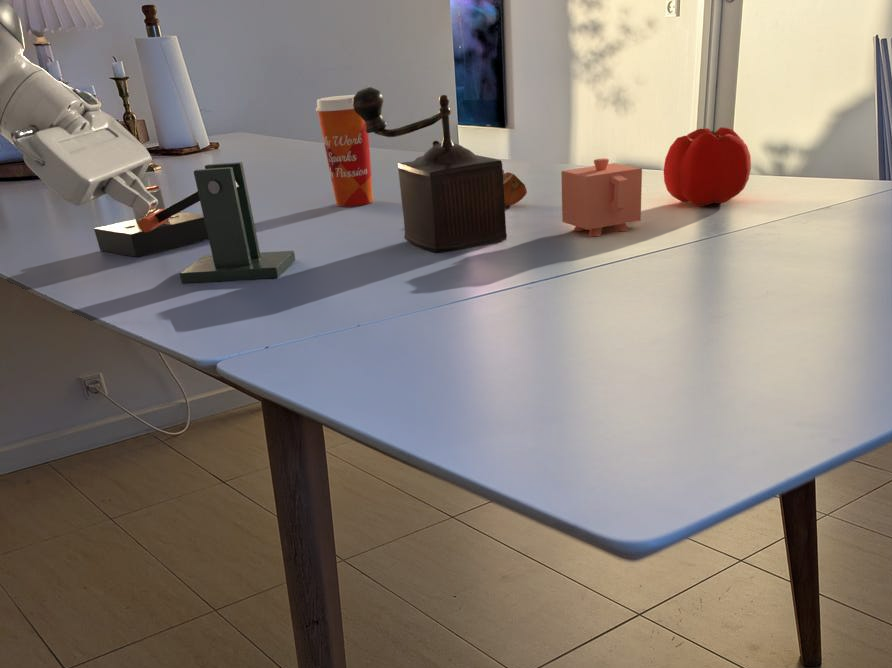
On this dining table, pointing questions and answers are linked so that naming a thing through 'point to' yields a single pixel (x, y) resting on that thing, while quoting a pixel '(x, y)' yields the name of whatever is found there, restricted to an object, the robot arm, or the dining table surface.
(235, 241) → the switch bracket
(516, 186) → the bread roll
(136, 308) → the dining table surface
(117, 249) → the dial panel
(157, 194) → the knob
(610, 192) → the pink cube teapot
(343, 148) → the coffee cup
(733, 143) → the tomato
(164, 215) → the lever
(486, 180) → the brown coffee grinder
